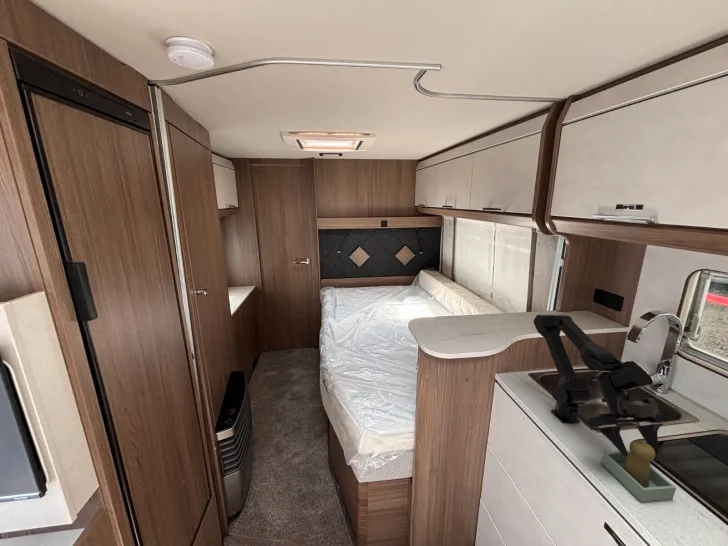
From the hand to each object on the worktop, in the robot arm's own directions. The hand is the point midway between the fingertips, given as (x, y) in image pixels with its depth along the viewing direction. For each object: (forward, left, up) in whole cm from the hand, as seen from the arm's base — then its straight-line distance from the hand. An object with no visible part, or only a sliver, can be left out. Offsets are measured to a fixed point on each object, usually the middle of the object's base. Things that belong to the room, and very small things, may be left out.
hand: (641, 454), depth 83 cm
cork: (0, 0, -8) cm, 8 cm away
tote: (0, 0, -9) cm, 9 cm away
